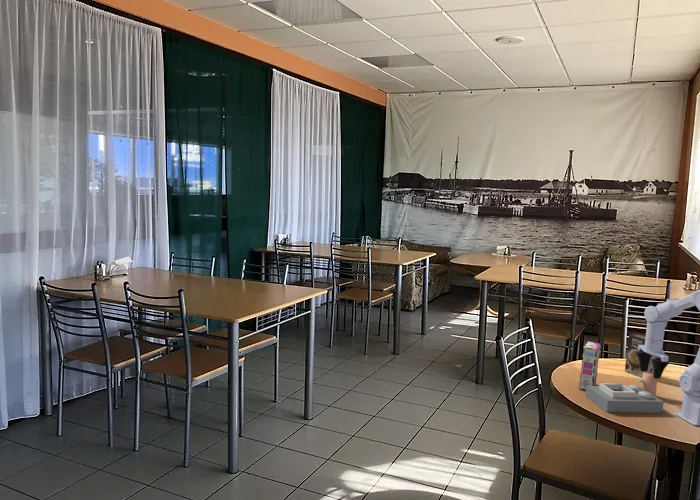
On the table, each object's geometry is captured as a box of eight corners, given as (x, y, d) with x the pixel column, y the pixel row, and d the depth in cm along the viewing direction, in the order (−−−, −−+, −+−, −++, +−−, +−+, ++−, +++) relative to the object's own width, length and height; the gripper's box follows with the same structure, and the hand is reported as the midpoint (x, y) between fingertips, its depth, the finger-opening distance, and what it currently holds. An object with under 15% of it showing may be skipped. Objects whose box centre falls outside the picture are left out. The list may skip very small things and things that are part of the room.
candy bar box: (593, 392, 202) (597, 349, 200) (578, 389, 204) (582, 347, 203) (596, 384, 211) (601, 343, 210) (582, 381, 214) (587, 340, 212)
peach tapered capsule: (658, 398, 200) (660, 376, 199) (641, 397, 199) (643, 376, 198) (650, 393, 204) (652, 372, 204) (633, 392, 204) (635, 372, 203)
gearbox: (662, 412, 185) (664, 395, 185) (606, 412, 184) (608, 394, 183) (637, 397, 199) (639, 381, 199) (585, 396, 197) (586, 380, 197)
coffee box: (623, 371, 229) (627, 334, 228) (634, 370, 232) (638, 333, 230) (643, 378, 221) (647, 339, 219) (654, 377, 224) (658, 338, 222)
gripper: (678, 344, 193) (673, 381, 194) (652, 333, 207) (648, 368, 209) (659, 344, 192) (655, 381, 194) (634, 333, 206) (630, 367, 208)
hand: (650, 374), depth 201 cm, fingers open, 7 cm apart
